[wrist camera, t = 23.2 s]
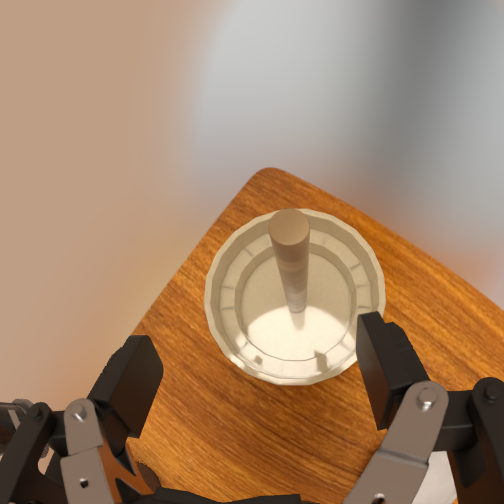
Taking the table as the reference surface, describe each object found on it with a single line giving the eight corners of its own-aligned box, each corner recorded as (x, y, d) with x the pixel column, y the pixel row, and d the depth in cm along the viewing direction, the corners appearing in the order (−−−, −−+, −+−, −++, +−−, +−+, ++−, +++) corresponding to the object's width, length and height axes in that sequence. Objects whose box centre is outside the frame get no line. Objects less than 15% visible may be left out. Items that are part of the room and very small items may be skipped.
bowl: (202, 349, 28) (178, 345, 22) (252, 222, 32) (242, 193, 27) (343, 397, 24) (354, 407, 18) (382, 257, 28) (398, 234, 23)
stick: (285, 310, 27) (262, 239, 12) (291, 293, 28) (275, 203, 12) (302, 315, 27) (303, 250, 11) (308, 298, 27) (314, 213, 12)
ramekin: (340, 504, 19) (346, 528, 14) (381, 416, 22) (397, 427, 17) (426, 508, 16) (442, 525, 11) (464, 424, 19) (489, 432, 14)
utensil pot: (117, 483, 22) (83, 498, 16) (127, 453, 24) (90, 465, 18) (154, 506, 21) (124, 528, 15) (166, 476, 23) (134, 497, 16)
